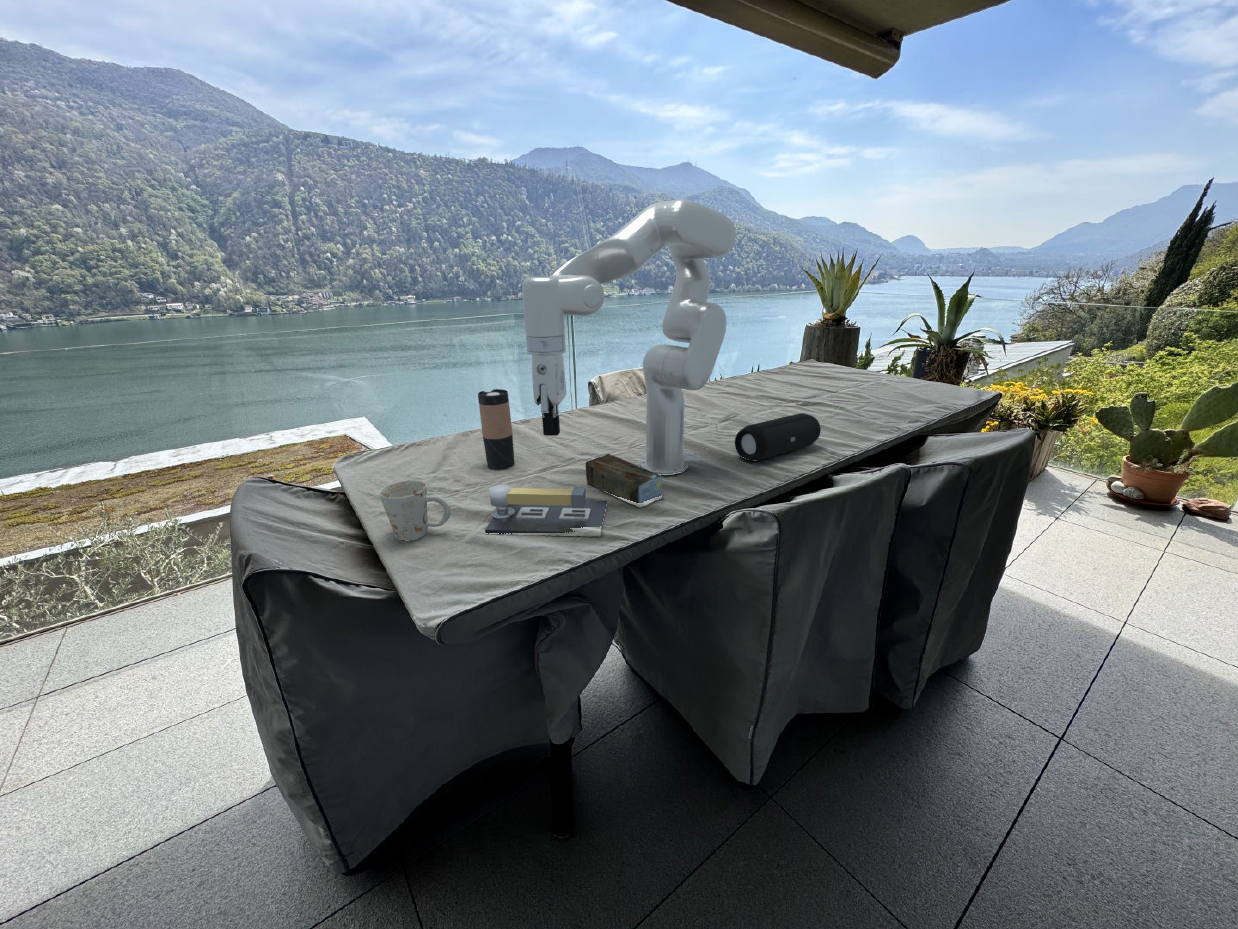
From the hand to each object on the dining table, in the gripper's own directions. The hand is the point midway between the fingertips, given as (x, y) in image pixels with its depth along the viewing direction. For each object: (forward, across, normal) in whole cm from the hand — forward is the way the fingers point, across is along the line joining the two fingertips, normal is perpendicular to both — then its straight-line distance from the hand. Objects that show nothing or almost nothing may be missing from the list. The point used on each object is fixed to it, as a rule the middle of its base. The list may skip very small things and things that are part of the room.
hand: (551, 434), depth 100 cm
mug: (+17, -13, +25) cm, 33 cm away
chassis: (+17, -6, 0) cm, 18 cm away
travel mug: (+17, +24, +20) cm, 35 cm away
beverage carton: (+17, +9, -14) cm, 24 cm away
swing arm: (+13, -6, +3) cm, 15 cm away
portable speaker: (+17, +36, -56) cm, 69 cm away
